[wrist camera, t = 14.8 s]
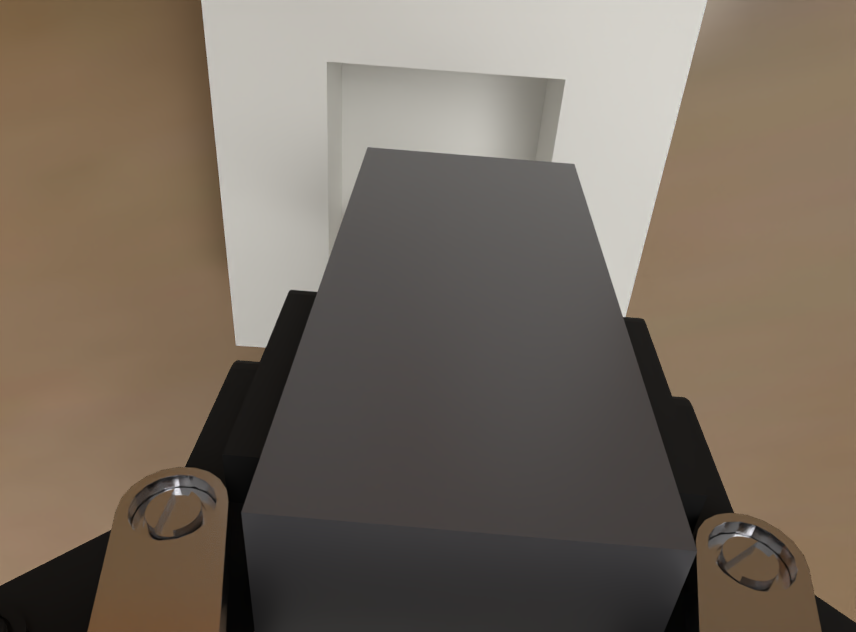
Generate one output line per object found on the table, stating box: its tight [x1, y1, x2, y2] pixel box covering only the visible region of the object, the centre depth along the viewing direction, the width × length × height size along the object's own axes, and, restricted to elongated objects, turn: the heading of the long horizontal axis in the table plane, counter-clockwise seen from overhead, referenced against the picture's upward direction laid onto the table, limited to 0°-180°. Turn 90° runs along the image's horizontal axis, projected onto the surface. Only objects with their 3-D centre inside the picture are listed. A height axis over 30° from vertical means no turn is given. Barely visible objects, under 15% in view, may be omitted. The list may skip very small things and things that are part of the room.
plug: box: [241, 147, 697, 632], centre depth 12 cm, size 4×4×10 cm
